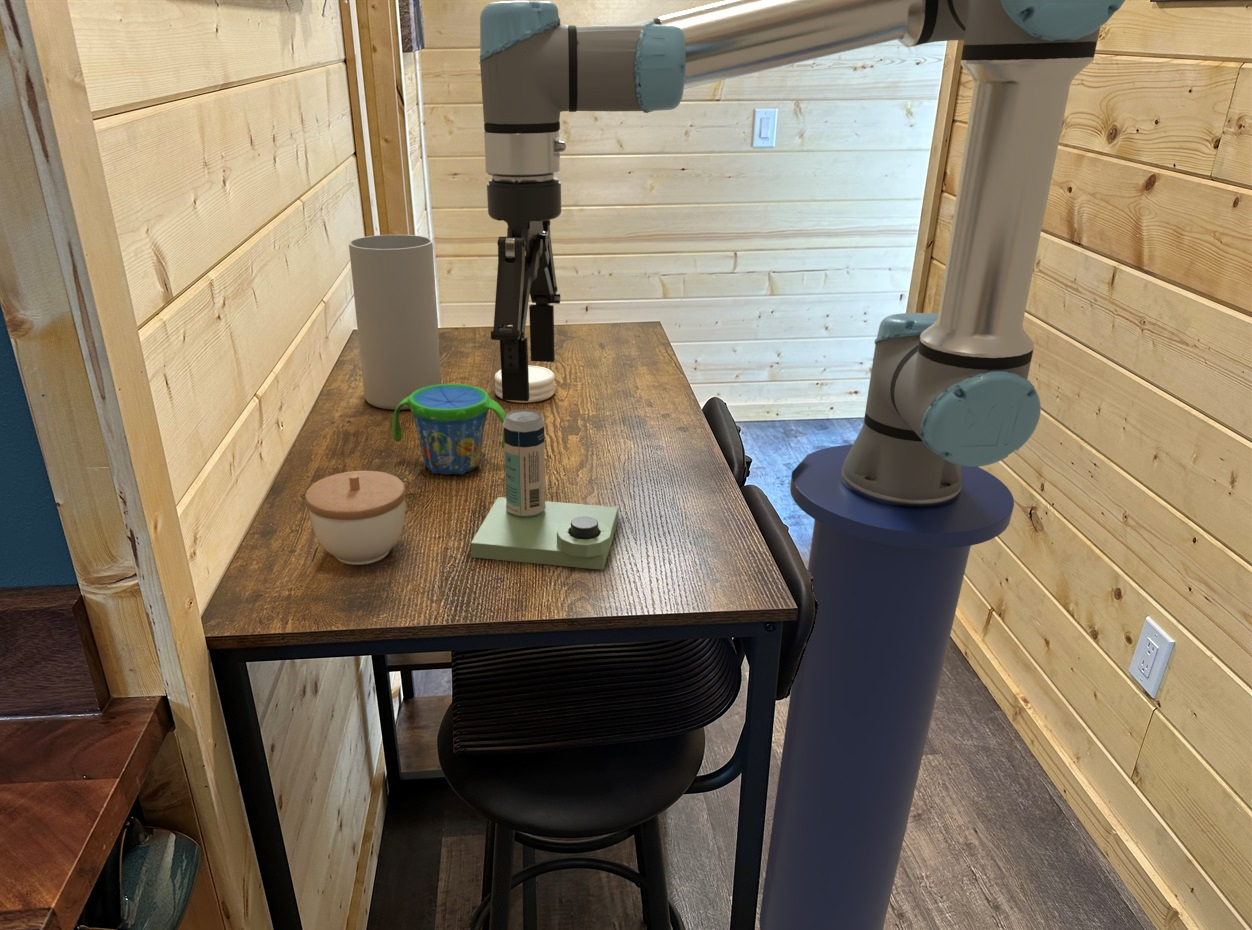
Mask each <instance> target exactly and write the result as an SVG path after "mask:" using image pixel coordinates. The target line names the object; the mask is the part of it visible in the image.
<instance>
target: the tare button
mask: <svg viewBox="0 0 1252 930" xmlns="http://www.w3.org/2000/svg"><path fill="white" fill-rule="evenodd" d="M571 536H572V537H574V538H576V539H584V540H587V539H593V538H596V537H597V536H598V521H597V520H596V519H595V518H592V517H588V516H581V517H576V518H574V519H573V520H572V521H571Z"/></svg>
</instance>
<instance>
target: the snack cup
mask: <svg viewBox="0 0 1252 930" xmlns="http://www.w3.org/2000/svg"><path fill="white" fill-rule="evenodd" d="M403 405H408V406H409V407H410V409H409V410H410V411H411V413H412V415H413V420H414V425H415V430H416V432H417V433H416V434H417V438H418V442H419V447H420V452H421V455H422V460H423V462H424V465H425V467H426V468H427V469H428V470H429V471H431V472H432V473H433V474H439V475H452V474H454V475H460V476H462V475H464V474H465V473H468V472H472V470H474V469H476V468H477V467H479V465H480V461H481V456H482V448H483V440H484V433H485V426H486V422H487V417H488V414H489V410H491V411H493V412H494V413H495V415H496V416H497V418H498V419H499V421H500V423H501V424H502V425H503V422H504V420H505V418H506V416H507V414H506V412H505V410H504V409H503V407H502V406H501V405H500V404H499V403H498V402H497V401H495V400H494V399H492V398H491V397H490V396H489V393H488V392H487V391H486V390H485V389H483V388H481V387H478V386H474V385H470V384H465V383H463V384H462V383H441V384H439V385H432V386H427V387H423V388H421V389H418V390H416V391H414V392H413V393H412V394H411V395H410V396H408V397H406V398H405V399H404V400H402V401H401V402H400V403H399V405H398V406H397V408H396V409H395V410H394V412H393V415H392V421H391V428H392V435H393V436H392V437H393V438H394V440H395V442H397V443H399V442H401V441H402V438H403V431H402V426H401V422H400V418H399V417H400V413H401V410H400V409H401V407H402V406H403ZM501 448H503V449H505V445H504V430H503V433H502V443H501Z"/></svg>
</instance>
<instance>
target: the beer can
mask: <svg viewBox="0 0 1252 930" xmlns="http://www.w3.org/2000/svg"><path fill="white" fill-rule="evenodd" d="M545 425H546V422H545V420H544V419H543V417H542V415H541V413H540V412H538V411H536V410H534V409H517V410H516V409H515V410H512V411H510V412H508V413H507V414H506V418H505V420H504V422H503V424H502V426H503V431H504V445H505V447H504V469H505V470H504V472H505V498H506V509H507V511H508V512H510V513H512V514H514V515H516V516H520V517H531V516H535V515H537V514H539V513H540V512H542V511H543V510H544V509H545V508H546V505H545V501H546V457H545V455H546V453H545V446H546V445H545V443H546V442H545Z"/></svg>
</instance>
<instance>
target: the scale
mask: <svg viewBox="0 0 1252 930" xmlns="http://www.w3.org/2000/svg"><path fill="white" fill-rule="evenodd" d="M545 505H546V508H545V509H544V510H543V511H542V512H540V513H539V514H537V515H535V516H531V517H520V516H516V515H514V514H512V513H510V512H508V511H507V509H506V497H500V496H497V497H496V499H495V500H494V503H493V504H492V506H491V508H490V510H489V511H488V513H487V514H486V516H485V518H484V520H483V521H482V523H481V524H480V526H479V528H478V530H477V531H476V533H475V534H474V537H473V538H472V540H471V542H470V556H471V558H473V559H485V560H494V561H495V560H496V561H506V562H508V561H509V562H516V563H517V562H518V563H527V564H536V565H537V564H538V565H547V566H559V567H567V568H568V567H569V568H579V569H589V570H598V571H599V570H601V571H604V569H605V567H606V562H607V559H608V556H609V553H610V549H611V546H612V542H613V541H614V540H613V539H614V536H615V534H616V529H617V526H618V523H619V510H620V509H619V507H618V506H607V505H597V504H586V503H585V504H584V503H575V502H574V503H573V502H561V501H550V500H545ZM581 516H588V517H592V518H595V519H596V520H597V521H598V536H597V537H596V538H593V539H587V540H584V539H576V538H574V537H572V536H571V521H572V520H573V519H574V518H576V517H581Z"/></svg>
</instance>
